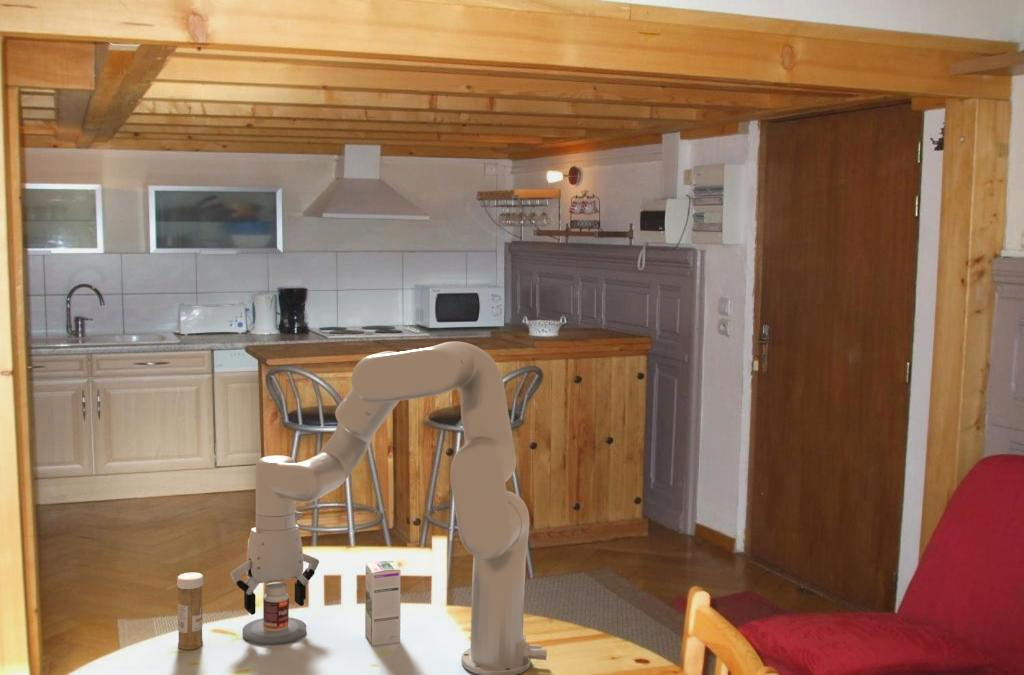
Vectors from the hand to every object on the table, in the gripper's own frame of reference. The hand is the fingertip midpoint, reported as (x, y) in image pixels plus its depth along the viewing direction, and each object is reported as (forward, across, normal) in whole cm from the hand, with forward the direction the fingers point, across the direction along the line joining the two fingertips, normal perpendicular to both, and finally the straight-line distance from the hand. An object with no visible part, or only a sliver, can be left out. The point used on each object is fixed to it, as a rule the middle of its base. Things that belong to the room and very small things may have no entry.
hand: (275, 608), depth 199 cm
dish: (+5, 0, 0) cm, 5 cm away
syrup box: (+5, -17, +13) cm, 22 cm away
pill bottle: (+4, 0, 0) cm, 4 cm away
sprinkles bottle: (+5, +16, -2) cm, 17 cm away
